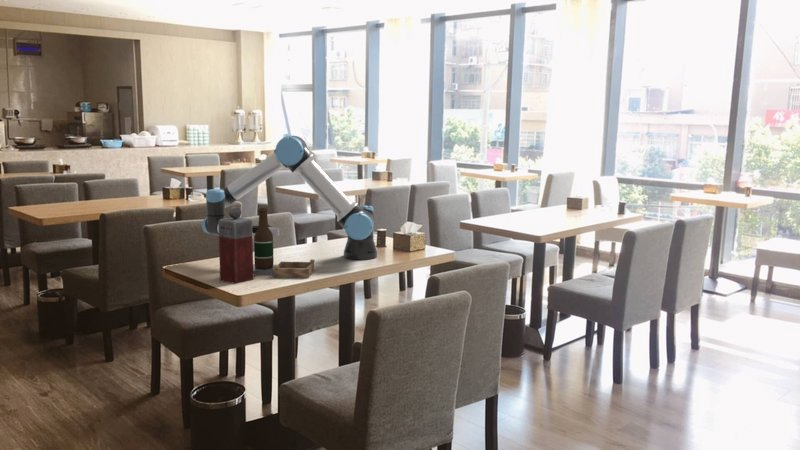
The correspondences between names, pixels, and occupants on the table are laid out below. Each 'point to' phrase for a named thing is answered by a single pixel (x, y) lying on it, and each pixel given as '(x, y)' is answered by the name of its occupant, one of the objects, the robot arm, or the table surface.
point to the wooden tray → (294, 269)
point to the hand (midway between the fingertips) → (265, 234)
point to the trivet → (263, 271)
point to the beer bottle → (263, 243)
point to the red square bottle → (235, 248)
